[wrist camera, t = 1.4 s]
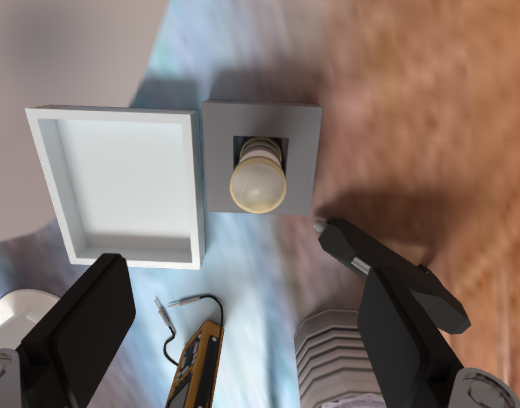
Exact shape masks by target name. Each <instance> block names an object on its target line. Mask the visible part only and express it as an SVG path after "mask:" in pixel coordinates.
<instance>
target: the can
mask: <svg viewBox="0 0 520 408" xmlns="http://www.w3.org/2000/svg"><path fill="white" fill-rule="evenodd" d="M358 315H359V312H358V311H356V310H349V309H330V308H328V309H326V310H323V311H321V312H319V313H317V314H314V315H312V316H310V317H308V318H306V319H304V320H303V322H302V324H301V325H300V327H299V329H298V330H297V332H296V334H295V335H294V344H295V354H296V364H297V374H298V384H299V394H300V404H301V408H387V407H386V404H385V401H384V399H383V396H382V393H381V390H380V388H379V385H378V382H377V379H376V377H375V374H374V371H373V369H372V366H371V363H370V360H369V358H368V355H367V352H366V349H365V347H364V344H363V341H362V339H361V336H360V333H359V330H358V326H357V320H358Z"/></svg>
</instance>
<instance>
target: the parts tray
mask: <svg viewBox="0 0 520 408" xmlns="http://www.w3.org/2000/svg"><path fill="white" fill-rule="evenodd" d="M25 111H26V114H27V118H28V121H29V124H30V128H31V131H32V134H33V138H34V141H35V145H36V148H37V151H38V155H39V158H40V161H41V165H42V168H43V172H44V175H45V178H46V182H47V185H48V189H49V192H50V195H51V199H52V202H53V205H54V209H55V212H56V216H57V219H58V223H59V226H60V229H61V233H62V236H63V239H64V243H65V246H66V250H67V253H68V256H69V260H70V263H71V264H83V265H92V264H93V263H94V262H95V261H96V260H97V259H98V258H99V257H100V256H101V255H102V254H103V253H119V254H121V255H122V257H124V258H125V259H126V261H127V266H129V267H152V268H175V269H198V270H200V269H201V266H202V263H203V260H204V257H205V255H206V247H205V228H204V210H203V191H202V172H201V154H200V135H199V116H198V111H197V110H171V109H146V108H120V107H95V106H69V105H68V106H67V105H44V106H37V107H30V108H25Z"/></svg>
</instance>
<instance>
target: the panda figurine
mask: <svg viewBox="0 0 520 408" xmlns="http://www.w3.org/2000/svg"><path fill="white" fill-rule="evenodd" d="M59 299H60V298H59V297H57V296H55V295H53V294H51V293H48V292H45V291H41V290H35V289H20V290H15V291H12V292H10V293H8V294H6V295H5V296H4V297H3V298H2V299H1V300H0V349H2V348H9V349H13V350H15V349H16V348H17V347H18V346H19V345H20V344H21V340H22V339H23V338H24V337H25V336H26V335H27V334H28V333H29V332H30V331H31V329H32V328H33V327H34V326H35V325H36V324H37V323H38V322H39V321H40V320H41V319H42V318H43V317H44V316H45V314H46V313H47V312H48V311H49V310H50V309H51V308H52V307H53V306H54V305H55V304H56V303H57V302H58V301H59Z"/></svg>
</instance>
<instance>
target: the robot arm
mask: <svg viewBox="0 0 520 408" xmlns="http://www.w3.org/2000/svg"><path fill="white" fill-rule="evenodd" d="M135 315H136V309H135V304H134V298H133V293H132V288H131V282H130V277H129V272H128V266H127V261H126V259H125V258H124V257H122V255H121V254H119V253H103V254H102V255H101V256H100V257H99V258H98V259H97V260H96V261H95V262H94V263H93V264H92V265H91V266H90V267H89V268H88V269H87V271H86V272H85V273H84V274H83V275H82V276H81V277H80V278H79V279H78V280H77V281H76V282H75V283H74V284H73V286H72V287H71V288H70V289H69V290H68V291H67V292H66V293H65V294H64V295H63V296H62V297H61V298H60V299H59V301H58V302H57V303H56V304H55V305H54V306H53V307H52V308H51V309H50V310H49V311H48V312H47V313H46V314H45V316H44V317H43V318H42V319H41V320H40V321H39V322H38V323H37V324H36V325H35V326H34V327H33V328H32V329H31V331H30V332H29V333H28V334H27V335H26V336H25V337H24V338H23V339H22V340H21V344H20V345H19V346H18V347H17V348H16V349H15V350H13V349H9V348H2V349H0V408H86V407H87V406H88V404H89V402H90V400H91V398H92V396H93V395H94V393H95V391H96V389H97V387H98V385H99V384H100V382H101V380H102V378H103V376H104V374H105V373H106V371H107V369H108V367H109V365H110V363H111V362H112V360H113V358H114V356H115V354H116V352H117V351H118V349H119V347H120V345H121V343H122V341H123V340H124V338H125V336H126V334H127V332H128V330H129V329H130V327H131V325H132V323H133V321H134V319H135ZM357 326H358V330H359V333H360V336H361V339H362V341H363V344H364V347H365V349H366V352H367V355H368V358H369V360H370V363H371V366H372V369H373V371H374V374H375V377H376V379H377V382H378V385H379V388H380V390H381V393H382V396H383V399H384V401H385V404H386V407H387V408H520V400H519V399H518V397H517V395H516V394H515V393H514V392H513V391H512V390H511V388H510V387H508V386H507V385H506V384H505V383H504V382H503V381H501V380H500V379H498V378H497V377H495V376H494V375H492V374H490V373H488V372H486V371H483V370H481V369H476V368H464V367H463V365H462V364H461V362H460V361H459V359H458V358H457V356H456V355H455V353H454V352H453V350H452V349H451V348H450V346H449V345H448V343H447V342H446V340H445V339H444V337H443V336H442V334H441V333H440V331H439V330H438V329H437V327H436V326H435V324H434V323H433V321H432V320H431V318H430V317H429V315H428V314H427V313H426V311H425V310H424V308H423V307H422V305H421V304H420V303H419V302H417V300H416V299H415V297H414V296H413V294H412V293H411V291H410V290H409V288H408V287H407V286H406V284H405V283H404V281H403V280H402V278H401V277H400V275H399V274H398V272H397V271H396V269H395V268H394V266H393V265H391V264H375V265H374V267H371V268H370V269H369V272H368V276H367V281H366V285H365V289H364V293H363V298H362V302H361V306H360V311H359V315H358V320H357Z"/></svg>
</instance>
